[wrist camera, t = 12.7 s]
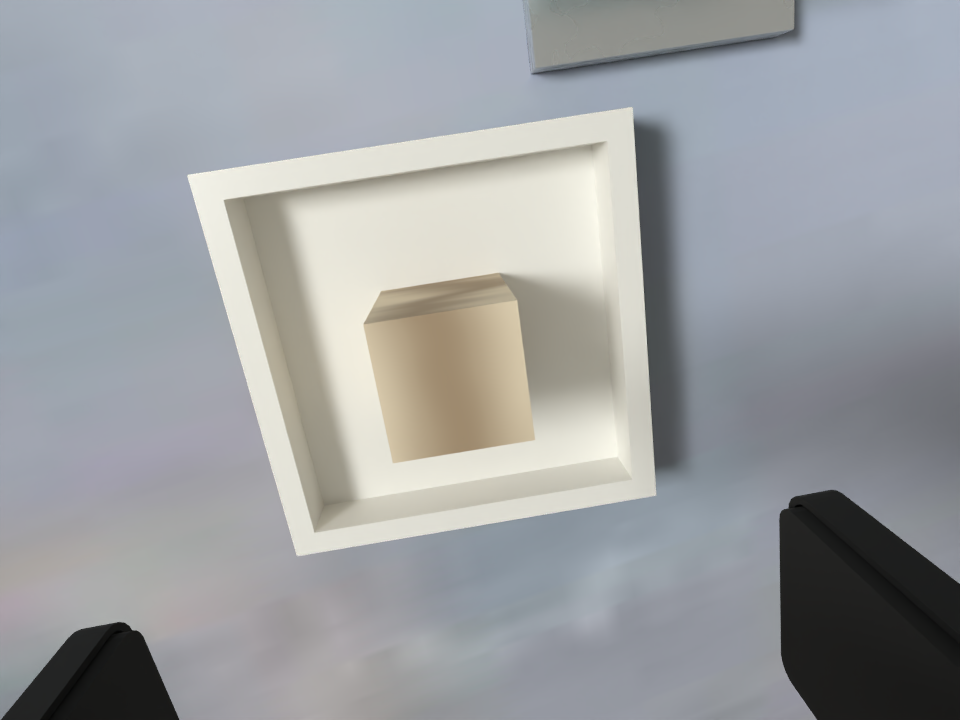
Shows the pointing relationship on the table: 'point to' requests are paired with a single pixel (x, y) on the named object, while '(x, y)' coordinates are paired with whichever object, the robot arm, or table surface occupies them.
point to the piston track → (643, 28)
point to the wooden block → (449, 367)
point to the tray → (429, 259)
